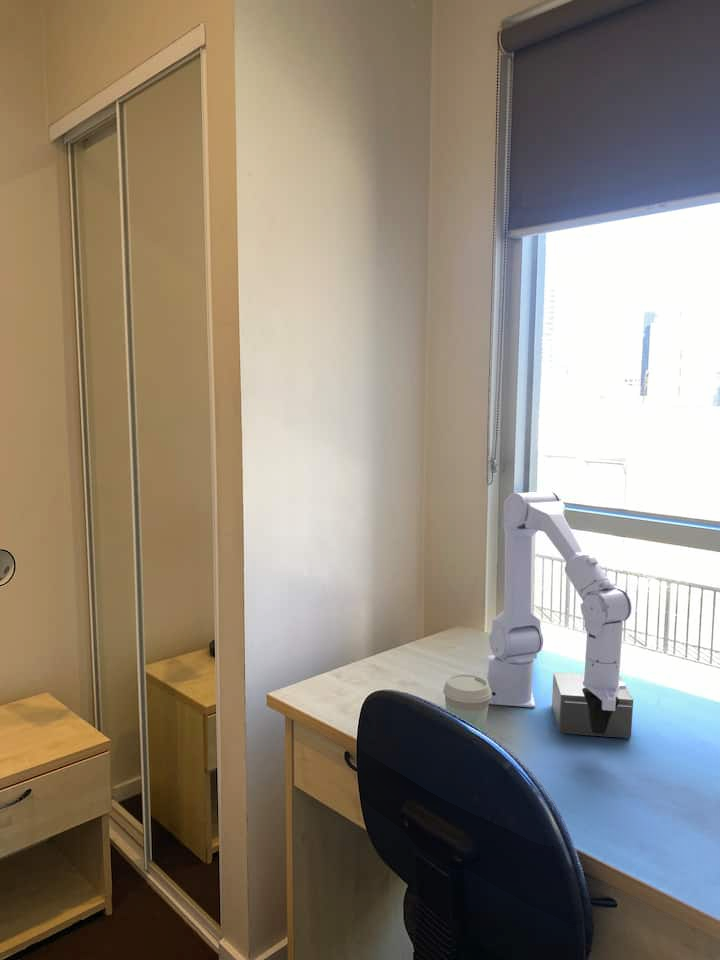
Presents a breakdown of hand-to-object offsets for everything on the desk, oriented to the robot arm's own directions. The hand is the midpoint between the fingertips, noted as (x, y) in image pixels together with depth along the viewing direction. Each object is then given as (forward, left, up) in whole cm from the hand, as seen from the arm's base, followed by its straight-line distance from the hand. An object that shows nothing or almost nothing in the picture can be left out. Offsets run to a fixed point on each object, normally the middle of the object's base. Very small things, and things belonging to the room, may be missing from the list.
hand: (598, 731), depth 126 cm
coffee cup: (-23, -1, -4) cm, 23 cm away
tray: (+1, +12, -4) cm, 13 cm away
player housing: (+1, +13, -4) cm, 14 cm away
